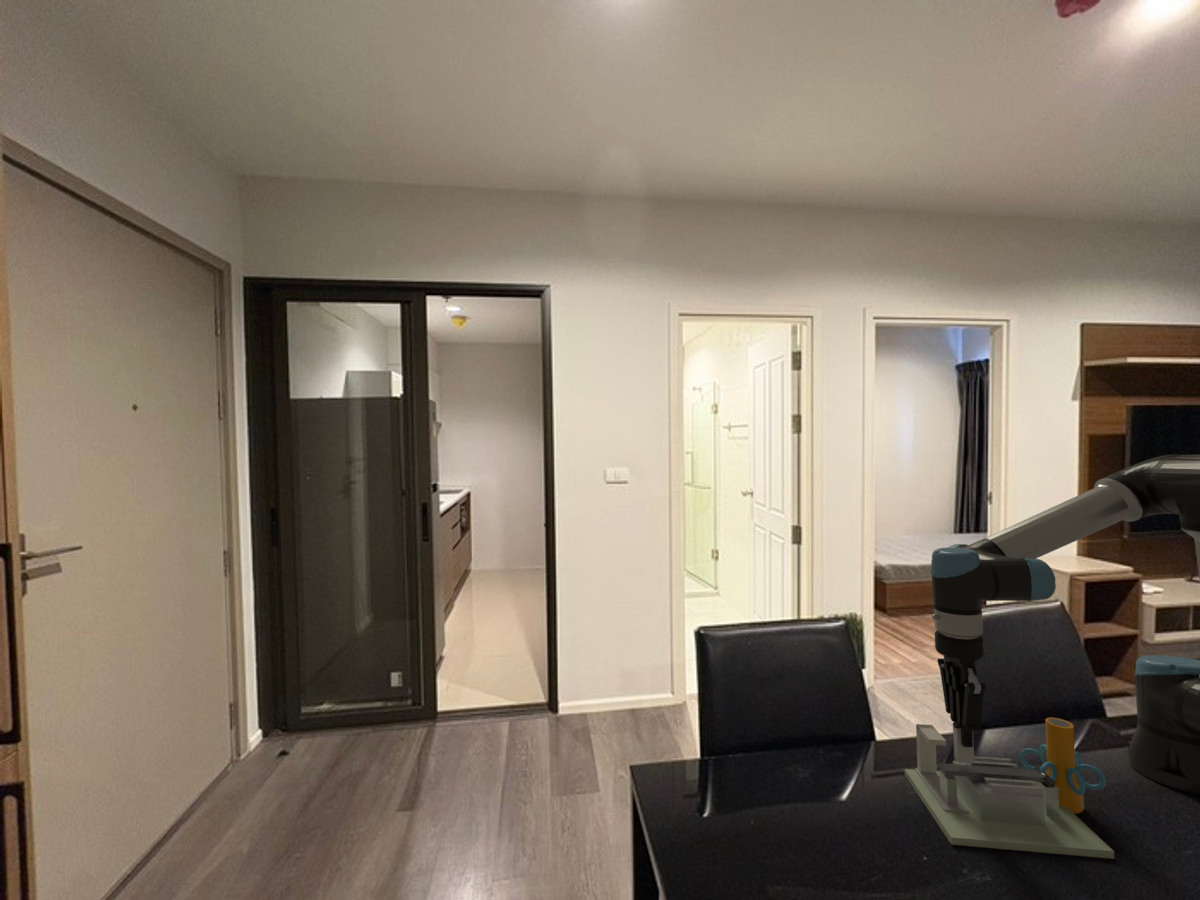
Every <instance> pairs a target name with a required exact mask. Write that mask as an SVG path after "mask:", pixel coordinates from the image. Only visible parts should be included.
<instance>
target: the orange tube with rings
mask: <svg viewBox="0 0 1200 900" xmlns="http://www.w3.org/2000/svg"><path fill="white" fill-rule="evenodd" d="M1074 727H1075V726H1074V724H1073V723H1072V722H1070V721H1067V720H1065V719H1063V718H1059V717H1047V718H1045V741H1046V742H1045V743H1043V744H1041V745H1040V746H1039V750H1037V749H1034V748H1031V747H1028V748H1027V747H1026V748H1023V749H1022V750H1021V751H1020V753H1019V760H1020V762H1021V763H1022V765H1023V766H1024V767H1025V768H1026V769H1027V770H1034V768H1035V767H1036V766H1035V767H1034V766H1033V765H1030V764H1029V763H1028V762H1027V761H1026V758H1025V756H1026V755H1027V754H1035V755H1036V756H1038V757H1039V758H1040V760H1041V762H1042V765H1041V766H1038V767H1039V768H1040V771H1042V772H1045V773H1046V774H1047V775H1048V776H1049V777H1050V778H1052V779H1053V780H1054V781H1055V783H1056V784H1055V786H1056V787H1057V788H1058V795H1059V806H1062V807H1066V808H1068V809H1069V810H1070V811H1071V812H1072V813H1073V814H1075V815H1077V814H1081V813H1082V812H1084V809H1085V802H1084V800H1085V799H1084V794H1086V789H1090V790H1095V791H1096V790H1097V791H1098V790H1102V789H1104V788H1105V786H1106V785H1107V780H1106V779H1107V778H1106V776H1105V774H1104V773H1103V772H1102V771H1101V770H1100V769H1099V768H1098V767H1095V766H1093V765H1092V764H1089V763H1088V764H1087V763H1083V757H1082V755H1081V754H1080V753H1079V752H1077V751H1075V748H1076V747H1075V728H1074ZM1045 750H1046V753H1045ZM1045 754H1046V755H1045ZM1076 763H1077V764H1076ZM1083 770H1091V771H1093V772H1094V773H1096V775H1098V777H1099V782H1098V783H1096V784H1091V783H1088V782H1087V781H1085V780H1084V778H1083V776H1082V774H1081V771H1083Z"/></svg>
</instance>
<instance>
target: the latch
mask: <svg viewBox="0 0 1200 900" xmlns="http://www.w3.org/2000/svg"><path fill="white" fill-rule="evenodd" d="M915 729H916V730H915V732H916V735H915V736H916V760H917V761H916V762H917V764H916V765H917V766H916V768H918V769H919V771H920V772H926V773H937V771H938V769H937V768H938V767H937V746H945V747H946V746H947V740H946V739H945V737H943V735H942V734H941V733H940V732H939V731H938V730H937V728H936V727H934V726H933V724H918V723H916V724H915Z"/></svg>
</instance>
